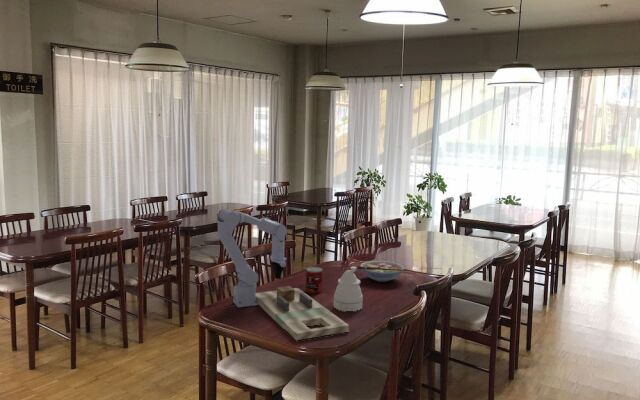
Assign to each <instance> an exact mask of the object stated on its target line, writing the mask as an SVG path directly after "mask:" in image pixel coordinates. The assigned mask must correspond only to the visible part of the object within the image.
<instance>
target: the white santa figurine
mask: <svg viewBox="0 0 640 400" xmlns="http://www.w3.org/2000/svg"><path fill="white" fill-rule="evenodd" d="M357 269H358V266H351V267H350V269H346V270H345V271H344V273H343V274H342V275H341V277H340V278H339V279H337V283H338V284H337V286H336V288H335V292H334V293H333V308H334V309H335V308H336V309H335V310H337V309H338V310H337V311H340V310H341V311H340V312H346V311H353V312H358V311H361V310H362V309H363V302H364V301H363V297H364V295H363V293H362V289H361V287H360V284H361V280H360V279H358V278H357V276H356V274H355V273H354V272H356V271H357ZM360 309H361V310H360ZM357 310H358V311H357Z"/></svg>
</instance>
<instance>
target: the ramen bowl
mask: <svg viewBox="0 0 640 400" xmlns="http://www.w3.org/2000/svg"><path fill="white" fill-rule="evenodd" d="M357 270H362V272H363V273H364V275H365V276H366V277H368V278H370V279H372V280H374V281H376V282H379V283H386V282H389V281H392V280H394V279H397V278H398V277H399V276H400V275H401V274H402V272H403V271H405V272H408V271H407V269H405V267H404V266H403V265H402V264H399V263H397V262H393V261H385V260H370V261H364V262H362V263H361V264H360V265H359V266H357Z"/></svg>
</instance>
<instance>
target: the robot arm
mask: <svg viewBox="0 0 640 400" xmlns="http://www.w3.org/2000/svg"><path fill="white" fill-rule="evenodd" d="M216 222H217V235H218V238H219V239H220V241H221V243H222V245H223V246H224V248H225V250H226V252H227V253H228V256H229V258H230V259H231V261H232V263H233V264H234V266H235V271H236V278H237V279H238V280H239V283H238V284H236V285H234V287H233V300H232V301H233V302H232V303H234V305H236V307H237V308H243V307H251V306H253V307H254V306H259V304H258V303H257V302H256V293H257V292H256V291H257V285H256V284H257V283H258V281H259V274H258V273H257V272H255V270H254V269H253V268H252V267H251V266H250V264H248V262H247V260H246V259H245V257H244V254H243V253H242V251H241V249H240V247H239V246H238V244H237V242H236V240H235V238H234V237H233V232H234V230H235V229H236V228H237V226H238V225H239V224H242V223H248V224H250V225H253V226H257V229H258V230H259V231H262V232H265V233H267V234H269V235H270V234H271V255H270V257H269V258H270V260H271V262H270V266H271V268H272V271H273V275H274V278H275V279H276V280H280V279H281V278H282V273H283V270H284V269H285V268H286V266H287V262H286V261H287V257H285V243H286V242H285V239H286V235H287V234H288V230H287V227H286V226H285V224H283V223H280V222H278V221H276V220H271V219H270V218H269V217H267V216H265V217H261V218H260V219H259V218H257V217H255V216H251V215H249V214H247V213H245V212H242V211H239V210H234V209H231V210H230V209H228V208H222V209H221V210H220V211H218V214H217V217H216Z"/></svg>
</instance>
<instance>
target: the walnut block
mask: <svg viewBox="0 0 640 400" xmlns="http://www.w3.org/2000/svg"><path fill="white" fill-rule="evenodd" d="M276 290H277V296H282V297H283V298H284V299H285V300H287V301H289V300H295V290H294V289H293V287H292V286H290V285H287V286H279V287H276Z"/></svg>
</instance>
